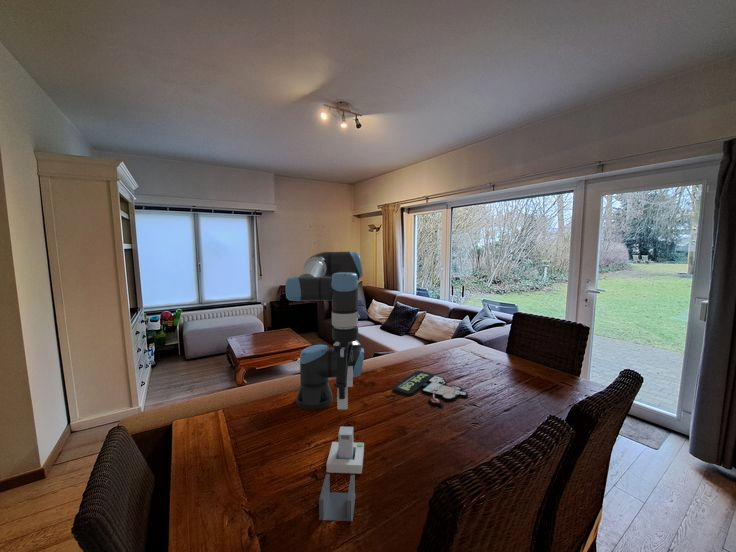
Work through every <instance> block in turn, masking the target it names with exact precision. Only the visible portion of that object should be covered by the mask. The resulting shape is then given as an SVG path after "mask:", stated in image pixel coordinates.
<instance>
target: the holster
mask: <svg viewBox="0 0 736 552" xmlns="http://www.w3.org/2000/svg"><path fill="white" fill-rule="evenodd" d="M330 475H331V474H330V473H326V474H325V477H324V480H323V483H322V487H321V491H320V495H319V497H318V498H319V499H318V504H319V505H318V507H319V508H318V511H319V516H318V521H335V522H337V521H340V522H341V521H342V522H343V521H344V522H353V519H354V512H355V504H356V502H355V501H356V497H357V495H356V494H357V493H355V492H356V491H355V490H356V487H355V485H356V483H355V482H356V480H355V479H356V477H355V476H356V475H355V474H350V477H349V485H348V492H336V491H335V492H334V491H333V492H331V482H330V480H331V476H330Z"/></svg>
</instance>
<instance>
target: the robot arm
mask: <svg viewBox="0 0 736 552" xmlns="http://www.w3.org/2000/svg"><path fill="white" fill-rule="evenodd" d="M361 259H362V258H361V256H360V253H359V252H356V251H323V252H318V253H316V254H313V255H312V256H310V257H309V258H307V259H306V261H305V262H304V264H303V267H302V268H303V270H302V271H301V273H300V274H299V275H298V276H292V277H288V278H287V279H286V282H285V296H286V299H287V300H288V301H293V302H295V301H296V302H304V301H305V302H311V301H312V302H313V301H315V302H318V301H324V302H325V301H331V307H332V308H331V325H332V327H331V328H332V329H331V338H332V340H333V341H334V343H333V344H332V345H333V348H329V346H328V345H326V344H314V345H310V346H307V347H305V348H303V349H302V350H301V352H300V353H299V354H300V356H299V372H300V373H299V375H300V380H299V381H300V385H299V389H298V392H297V395H296V406H297V407H298V408H299V409H302V410H305V411H319V410H322V409H325V408H327V407H328V406H330V405H332V403H333V401H334V400H333V399H334V398H333V397H334V396H333V392H332V389H331V386H330V383H329V378H330V379H335V378H336V379H335V383H333V386H334V388H336V391H337V393H336V397H337V398H336V402H337V403H336V405H337V408H336V409H337V410H348V407H349V406H348V402H349V401H348V397H349V396H348V388H353V387H354V384H353V383H354V382H353V381H354V380H353V379H354V377H355V378H357V377H359V376H361V375H362V373H363V366H364V365H363V364H364V357H365V356H364V355H365V349H364V348H363V347H361V343H360V341H358V338H359V327H358V323H359V319H361V315H360V314H359V308H358V307H359V306H358V305H359V303H358V302H359V300H358V299H359V282H360V279H361V278H363V275H364V274H363V266H362V260H361Z"/></svg>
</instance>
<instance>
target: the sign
mask: <svg viewBox="0 0 736 552" xmlns="http://www.w3.org/2000/svg"><path fill="white" fill-rule="evenodd" d="M447 383H448V382H447V381H446V379H445V377H443V376H440V375H434V374H433V373H430V372H427V371H422V370H416V371H415V372H413V373H412V374H410V375H408V376H406V377H405V378H404V379H401V380H400V381H399V382H398V383H396V384H395V385H393V386H392V392H394V393H397V394H400V395H402V396H406V397H412V396H413V395H415V394H416V393H418V392H419V391H420V390H421V391H420V392H421V394H424V395H426V396H430V397H429V398H428V404H430V405H431V406H433V407H438V408H442V409H443V408H444V403H443V402H442V401H444V402H449V403H451V402H454V401H456V400H458V399H459V398H462V399H467V398H468V397H469V393H468V392H466V391H464V390H463V388H462V387H461V386H460V385H447ZM439 398H441V399H439ZM441 400H442V401H441Z"/></svg>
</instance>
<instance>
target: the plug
mask: <svg viewBox="0 0 736 552" xmlns="http://www.w3.org/2000/svg"><path fill="white" fill-rule="evenodd" d="M337 435H338V441H337V442H338V448H339V455H338V459H351V460H354V458H355V455H354V443H355V441H354V438H355V437H354V426H340V427H339V431H338V433H337Z"/></svg>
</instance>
